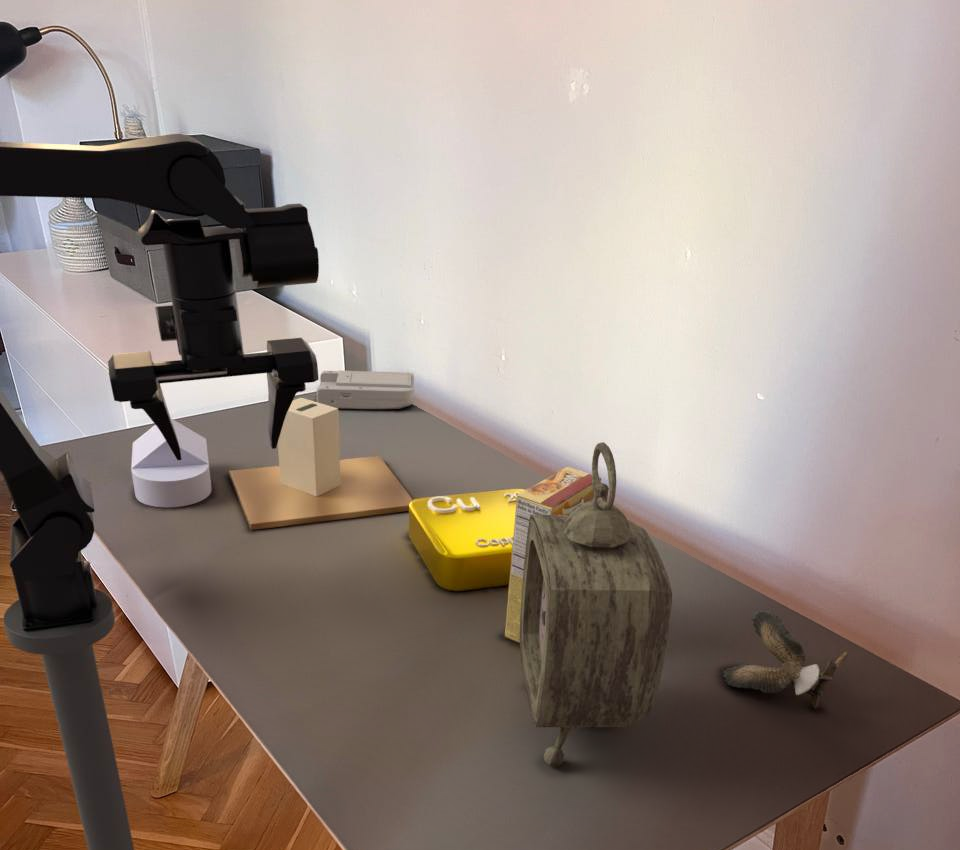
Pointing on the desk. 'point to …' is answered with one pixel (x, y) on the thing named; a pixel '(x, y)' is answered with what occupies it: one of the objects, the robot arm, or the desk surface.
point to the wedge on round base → (170, 468)
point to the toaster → (310, 447)
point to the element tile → (465, 537)
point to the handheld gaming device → (366, 389)
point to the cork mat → (358, 495)
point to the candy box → (540, 499)
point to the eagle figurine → (791, 659)
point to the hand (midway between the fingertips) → (227, 452)
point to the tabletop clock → (592, 616)
